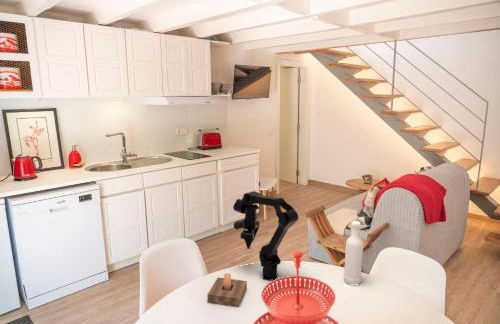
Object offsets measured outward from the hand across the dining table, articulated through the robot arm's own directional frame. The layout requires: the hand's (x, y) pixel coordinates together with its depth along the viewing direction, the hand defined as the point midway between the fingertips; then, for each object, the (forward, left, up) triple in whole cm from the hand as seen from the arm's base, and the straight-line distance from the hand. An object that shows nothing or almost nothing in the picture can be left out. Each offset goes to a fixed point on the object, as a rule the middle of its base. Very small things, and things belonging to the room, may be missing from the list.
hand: (250, 244), depth 171 cm
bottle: (-51, +3, -12) cm, 53 cm away
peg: (+4, +28, -12) cm, 31 cm away
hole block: (+4, +28, -12) cm, 31 cm away
